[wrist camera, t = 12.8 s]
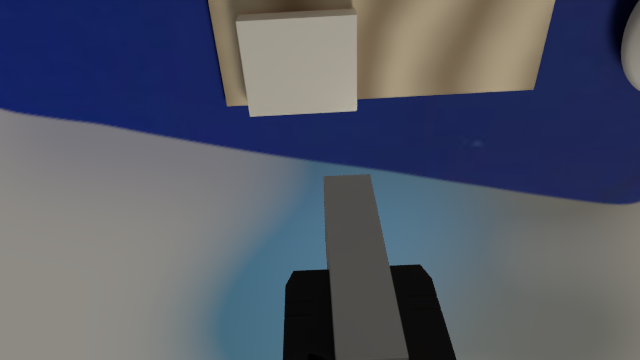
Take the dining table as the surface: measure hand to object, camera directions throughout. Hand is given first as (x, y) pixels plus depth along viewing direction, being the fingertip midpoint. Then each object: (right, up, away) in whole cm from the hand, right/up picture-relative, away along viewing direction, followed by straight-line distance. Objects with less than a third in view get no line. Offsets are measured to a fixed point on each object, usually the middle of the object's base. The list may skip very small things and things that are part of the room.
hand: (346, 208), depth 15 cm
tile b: (+2, +10, +17) cm, 20 cm away
